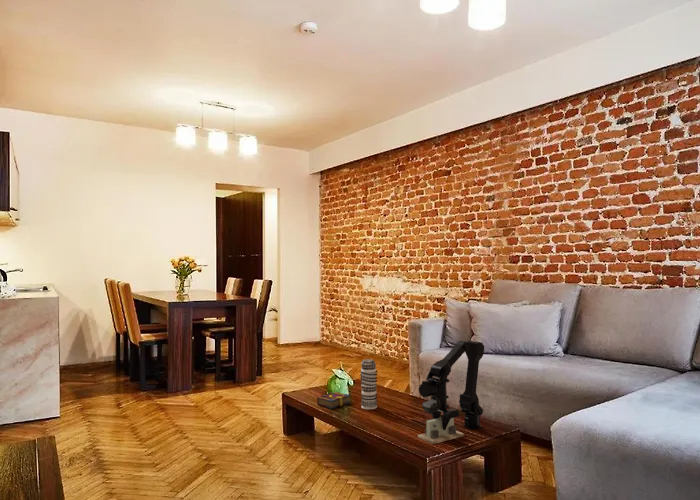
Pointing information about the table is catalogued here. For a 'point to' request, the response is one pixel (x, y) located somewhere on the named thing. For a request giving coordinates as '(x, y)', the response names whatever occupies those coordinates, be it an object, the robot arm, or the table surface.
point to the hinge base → (437, 438)
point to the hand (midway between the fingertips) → (440, 428)
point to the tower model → (368, 384)
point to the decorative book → (333, 400)
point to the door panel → (438, 426)
